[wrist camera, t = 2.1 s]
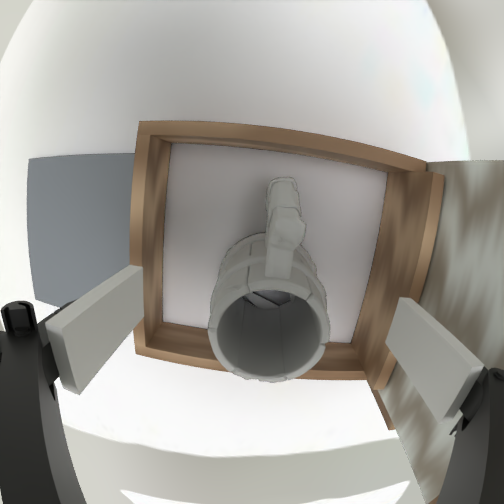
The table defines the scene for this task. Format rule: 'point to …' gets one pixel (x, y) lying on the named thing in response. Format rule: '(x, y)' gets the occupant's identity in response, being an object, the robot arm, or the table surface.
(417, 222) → the box
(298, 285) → the mug
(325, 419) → the table surface
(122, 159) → the slate mat
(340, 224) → the table surface
